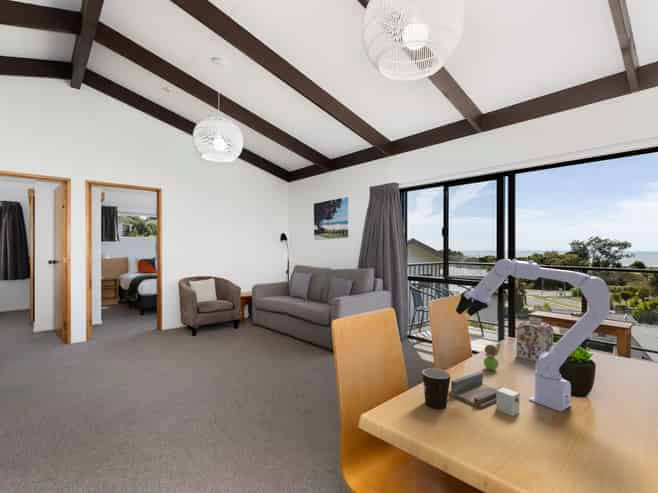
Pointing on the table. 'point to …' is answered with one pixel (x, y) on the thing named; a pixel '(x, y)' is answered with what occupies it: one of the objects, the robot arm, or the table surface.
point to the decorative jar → (533, 339)
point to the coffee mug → (436, 387)
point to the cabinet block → (507, 401)
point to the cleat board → (473, 390)
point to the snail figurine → (491, 356)
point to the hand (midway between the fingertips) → (463, 313)
